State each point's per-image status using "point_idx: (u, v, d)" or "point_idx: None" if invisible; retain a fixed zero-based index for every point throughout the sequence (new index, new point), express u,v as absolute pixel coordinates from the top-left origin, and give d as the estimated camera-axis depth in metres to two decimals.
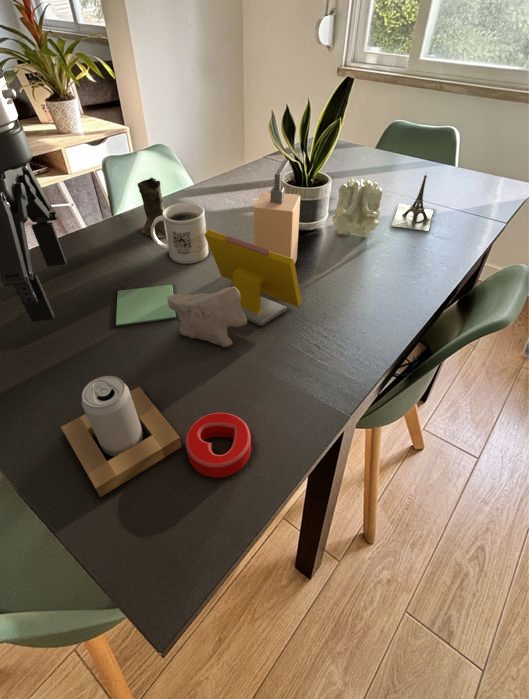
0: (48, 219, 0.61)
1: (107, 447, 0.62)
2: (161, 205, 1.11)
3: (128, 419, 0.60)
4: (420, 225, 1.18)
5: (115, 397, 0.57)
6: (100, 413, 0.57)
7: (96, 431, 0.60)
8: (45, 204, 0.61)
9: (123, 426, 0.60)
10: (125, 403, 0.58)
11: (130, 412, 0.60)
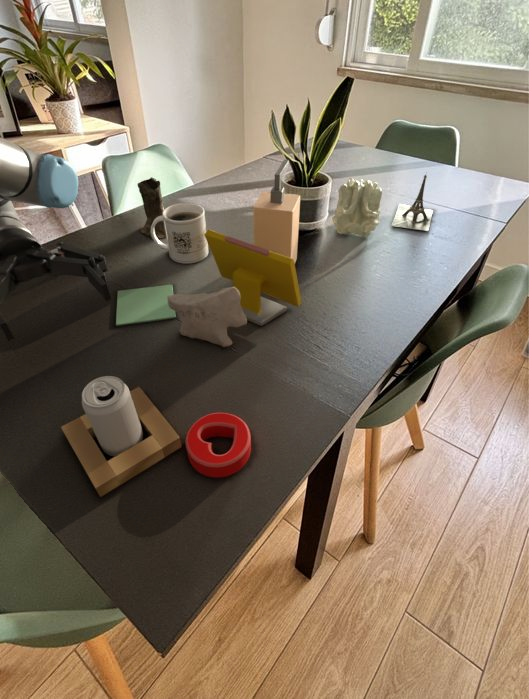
0: None
1: (107, 447, 0.62)
2: (161, 205, 1.11)
3: (128, 419, 0.60)
4: (420, 225, 1.18)
5: (115, 397, 0.57)
6: (100, 413, 0.57)
7: (96, 431, 0.60)
8: None
9: (123, 426, 0.60)
10: (125, 403, 0.58)
11: (130, 412, 0.60)
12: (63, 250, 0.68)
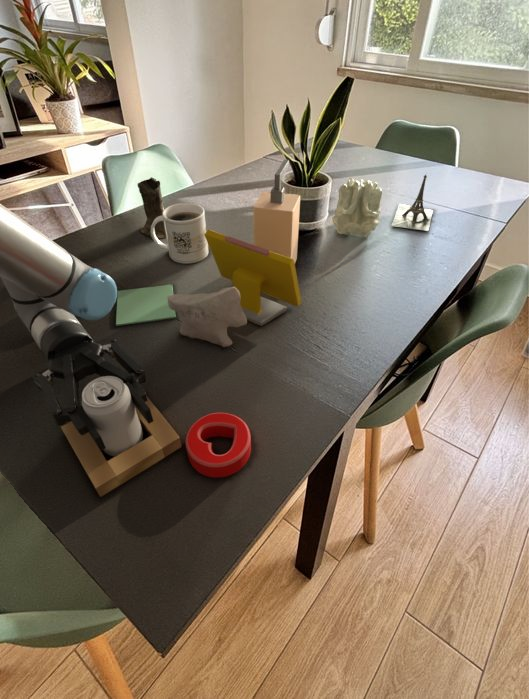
0: None
1: (107, 447, 0.62)
2: (161, 205, 1.11)
3: (128, 419, 0.60)
4: (420, 225, 1.18)
5: (115, 397, 0.57)
6: (100, 413, 0.57)
7: None
8: None
9: (123, 426, 0.60)
10: (125, 403, 0.58)
11: (130, 412, 0.60)
12: (112, 350, 0.68)
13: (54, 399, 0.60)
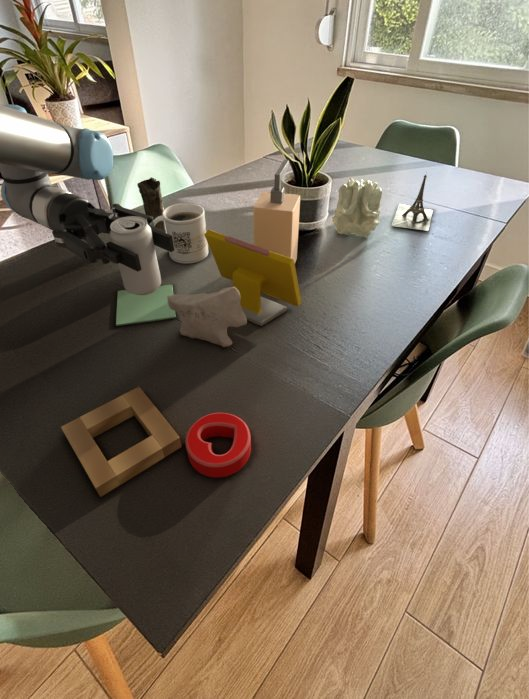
0: None
1: (135, 283, 0.70)
2: (161, 205, 1.11)
3: (152, 251, 0.69)
4: (420, 224, 1.18)
5: (141, 226, 0.66)
6: (132, 239, 0.65)
7: None
8: None
9: (149, 256, 0.69)
10: (150, 232, 0.67)
11: (153, 245, 0.69)
12: (117, 211, 0.76)
13: (82, 241, 0.67)
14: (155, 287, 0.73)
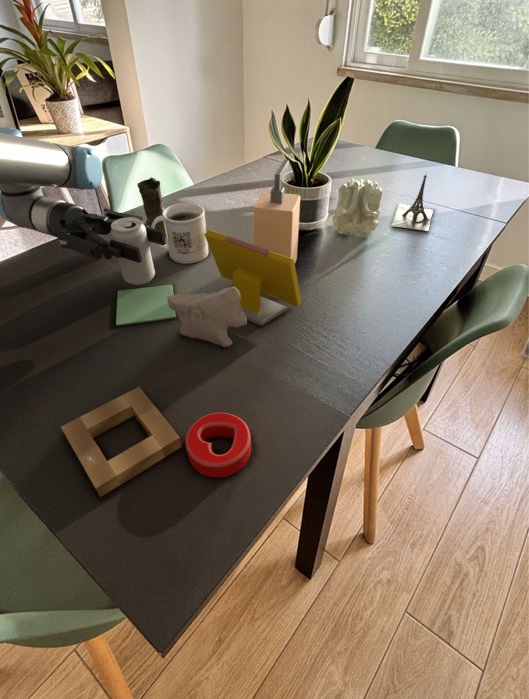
0: None
1: (135, 274, 0.83)
2: (161, 205, 1.11)
3: (147, 245, 0.82)
4: (420, 225, 1.18)
5: (137, 225, 0.79)
6: (132, 236, 0.78)
7: (126, 259, 0.81)
8: None
9: (146, 250, 0.81)
10: (145, 230, 0.80)
11: (147, 240, 0.82)
12: (109, 214, 0.87)
13: (87, 241, 0.79)
14: (151, 277, 0.85)
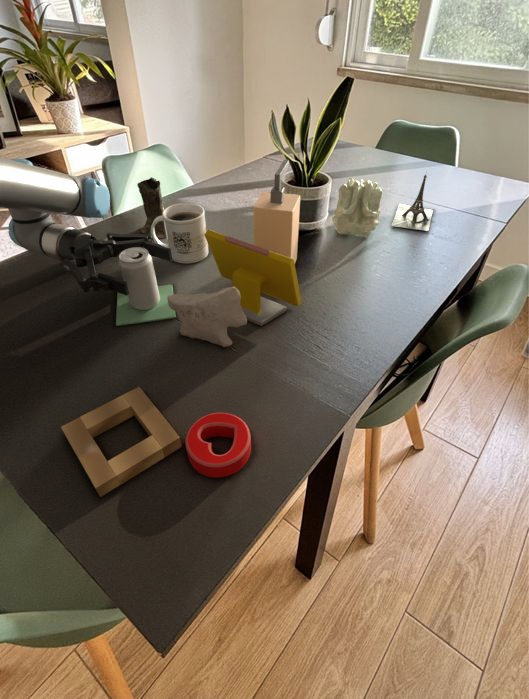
0: None
1: (141, 300, 0.87)
2: (161, 205, 1.11)
3: (153, 274, 0.86)
4: (420, 224, 1.18)
5: (144, 255, 0.83)
6: (139, 266, 0.82)
7: (133, 287, 0.85)
8: None
9: (152, 278, 0.86)
10: (151, 259, 0.84)
11: (153, 269, 0.86)
12: (115, 238, 0.92)
13: (81, 273, 0.81)
14: (156, 302, 0.90)
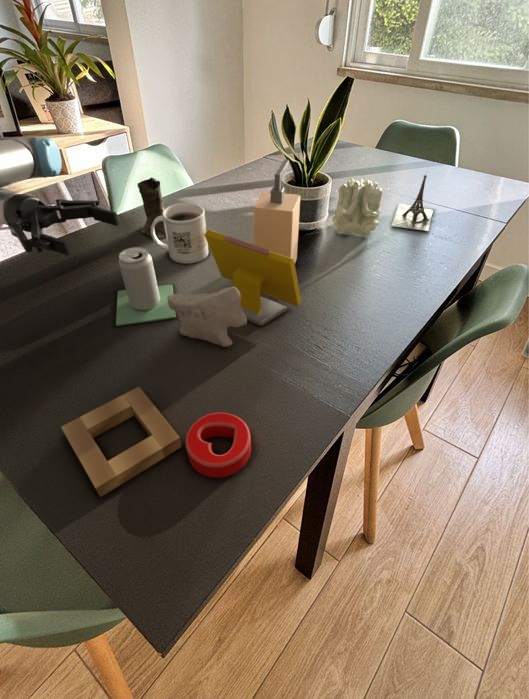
0: None
1: (141, 300, 0.87)
2: (161, 205, 1.11)
3: (153, 274, 0.86)
4: (420, 225, 1.18)
5: (144, 255, 0.83)
6: (139, 266, 0.82)
7: (133, 287, 0.85)
8: None
9: (152, 278, 0.86)
10: (151, 259, 0.84)
11: (153, 269, 0.86)
12: (64, 203, 0.93)
13: (23, 234, 0.82)
14: (156, 302, 0.90)
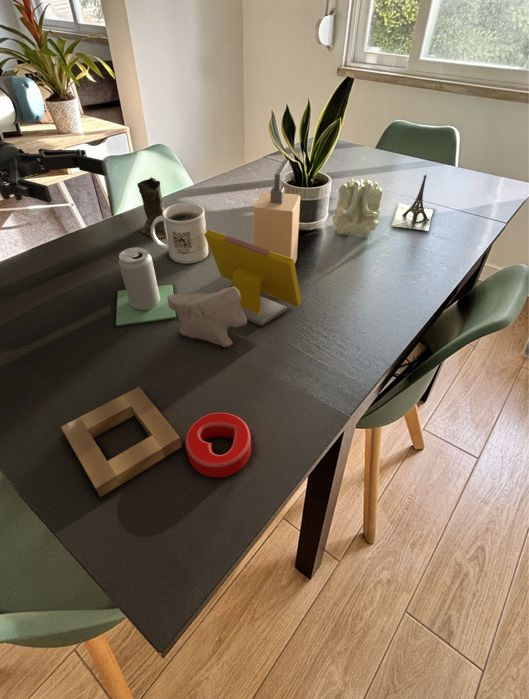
0: None
1: (141, 300, 0.87)
2: (161, 205, 1.11)
3: (153, 274, 0.86)
4: (420, 224, 1.18)
5: (144, 255, 0.83)
6: (139, 266, 0.82)
7: (133, 287, 0.85)
8: None
9: (152, 278, 0.86)
10: (151, 259, 0.84)
11: (153, 269, 0.86)
12: (47, 153, 0.86)
13: (0, 179, 0.75)
14: (156, 302, 0.90)
